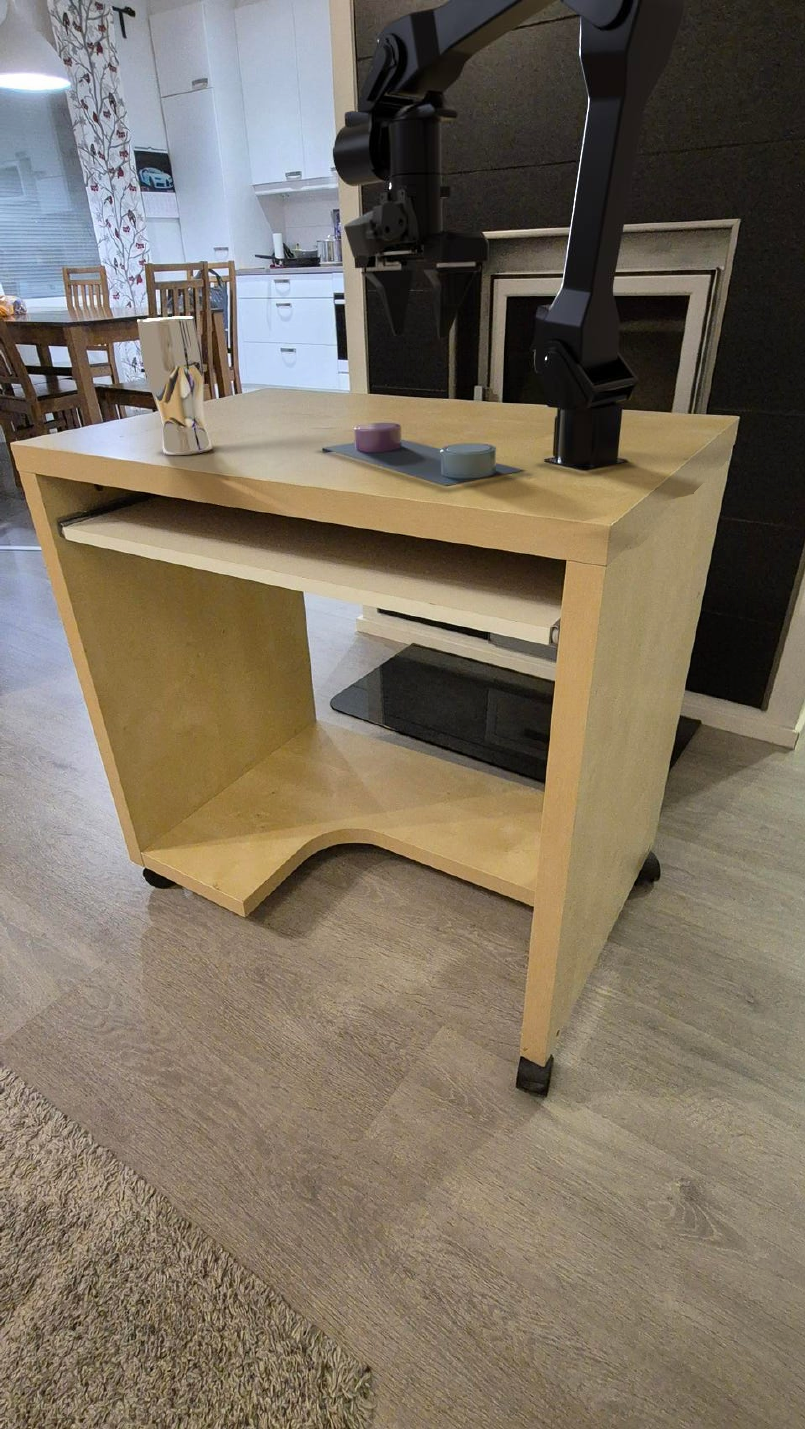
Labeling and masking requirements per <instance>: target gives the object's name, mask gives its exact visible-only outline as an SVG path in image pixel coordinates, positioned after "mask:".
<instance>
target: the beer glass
mask: <svg viewBox="0 0 805 1429" xmlns="http://www.w3.org/2000/svg"><path fill="white" fill-rule="evenodd" d="M137 329H138V338H139V339H138V340H139V347H140V354H141V360H142V364H143V370H144V373H145V376H146V379H147V383H148V385H149V388H150V389H149V390H150V391H151V394H152V397H153V401H154V403H155V405H156V409H157V411H158V415H159V418H160V422H161V431H162V451H163V454H164V455H169V456H190V455H198V454H204V453H207V452H210V451H211V450H212V449H213V445H212V441H211V439H210V436H209V433H208V429H207V426H206V421H205V412H204V394H205V392H204V390H205V389H204V386H205V385H204V380H205V379H204V364H203V356H202V351H201V344H200V340H199V336H198V330H197V327H196V322H195V317H194V316H172V317H153V318H145V319H144V318H142V319H137Z"/></svg>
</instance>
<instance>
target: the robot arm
mask: <svg viewBox="0 0 805 1429" xmlns="http://www.w3.org/2000/svg"><path fill="white" fill-rule="evenodd" d="M557 1H558V0H447V1H446V2H445V3H443V4H440V5H439V6H436V7H434V8H429V9H423V10H417V11H413V12H409V13H407V14H405V15H403V16H400V17H397V18H395V19H393V20H391V21H389V22H387V23H386V24H385V25H384V26H383V27H382V29H381V30H380V32H379V34H378V36H377V44H376V45H375V48H374V52H373V55H372V58H371V61H370V65H369V68H368V71H367V75H366V77H365V81H364V83H363V85H362V88H361V89H360V97H359V99H358V103H357V107H356V108H357V111H355V110H351V111H350V110H349V111H346V112H344V117H343V118H344V126H343V127H342V128H341V129H339V131H338V133H337V134H336V137H335V140H334V144H333V148H332V159H333V164H334V167H335V170H336V173H337V175H338V177H339V178H340V179H341V180H342V182H344V183H345V184H346V185H348V186H351V187H360V186H365V185H372V184H378V183H385V182H389V188H386V189H382V190H381V193H380V196H379V199H380V205H376V206H373V208H372V210H370V211H368V212H366V213H364V214H362V215H361V216H359V217H357V218H355V219H353V220H351V221H349V222H348V223H345V224H344V225H343V226H342V228H343V230H344V234H345V236H346V239H347V243H348V245H349V248H350V252H351V255H352V258H354V269H366V271H361V273H360V274H361V275H362V276H363V277H365V278H367V279H368V280H369V281H370V282H371V283H373V284H374V286H375V287H376V289H377V291H378V293H379V295H380V298H381V300H382V304H383V306H384V310H385V313H386V316H387V319H388V322H389V325H390V328H391V331H392V334H393V336H395V337H397V336H402V335H403V334H404V329H405V326H406V321H407V320H406V319H407V315H408V314H407V313H408V308H409V303H410V297H411V296H410V295H411V290H412V285H413V284H412V283H413V278H414V269H402V267H410V265H411V263H412V262H417V261H426V263H427V265H434V264H435V265H436V267H427V268H422V271H423V273H425V276H426V277H427V279H428V280H429V281H430V283H431V284H432V287H433V288H432V289H433V300H434V311H435V312H434V313H435V324H436V331H437V332H436V333H437V337H438V339H446V338H447V339H448V337H449V335H450V332H451V330H452V328H453V325H454V322H455V320H456V317H457V316H458V313H459V310H460V307H461V305H462V303H463V301H464V298H465V296H466V295H467V292H468V290H469V288H470V286H471V284H472V282H473V280H474V278H475V276H476V274H477V273H478V272H481V268H482V266H481V265H476V263H481V262H482V263H484V262H485V263H486V262H489V249H490V248H489V244H490V242H489V240H488V238H487V237H486V235H485V234H484V232H483V231H451V230H444V229H443V228H444V227H443V226H444V225H443V222H444V221H443V199H447V198H448V199H449V198H451V185H443V152H442V151H443V150H442V149H443V146H442V145H443V144H442V138H443V137H442V136H443V134H442V123H443V122H447V121H452V120H456V119H458V116H459V114H458V112H459V111H458V110H457V109H456V108H455V107H454V106H453V105H452V104H451V103H450V101H448V100H447V98H446V96H445V94H444V93H445V92H446V91H447V90H448V89H450V87H451V86H452V85H453V84H455V83H456V81H457V80H458V79H459V78H460V76H461V74H462V72H463V70H464V68H465V65H466V63H467V62H468V61H469V60H470V59H471V58H472V57H474V55H476V54H477V53H479V52H480V51H482V50H483V49H485V48H487V47H488V46H490V45H491V44H493V43H494V42H495V41H497V40H498V39H500V38H502V37H503V36H506V34H508V33H509V32H511V31H512V30H514V29H515V28H517V27H518V26H520V25H522V24H523V23H525V22H526V21H527V20H529V19H531V18H532V17H534V16H535V15H537V14H538V13H540V12H542V11H544V10H545V9H546V8H548V7H549V6H551V5H552V4H554V3H555V2H557ZM559 1H560V2H561V3H562V4H563V5H565V6H566V7H568V8H569V9H570V10H572V11H573V12H575V13H576V14H577V15H579V17H580V18H579V19H580V22H579V24H580V26H579V27H580V29H579V60H580V64H581V69H582V72H583V78H584V82H585V87H586V92H587V97H588V101H587V102H588V104H587V113H586V120H585V126H584V132H583V139H582V146H581V153H580V161H579V166H578V174H577V181H576V188H575V193H574V194H575V195H574V202H573V209H572V215H571V223H570V230H569V236H568V242H567V243H568V244H567V248H566V249H567V250H566V255H565V264H564V270H563V277H562V283H561V287H560V289H559V291H558V293H557V295H556V296H555V298H554V300H553V302H552V304H546V305H545V304H544V305H539V306H537V309H536V312H535V324H534V325H535V326H534V327H535V329H534V330H535V331H534V336H533V341H532V343H531V345H530V347H529V352H534V355H533V364H534V371H535V372H536V374H538V376H539V378H540V380H541V384H542V389H543V393H544V398H545V403H546V406H547V407H548V408H552V409H556V415H555V417H554V427H553V442H552V443H553V446H552V456H553V457H547V458H544V459H543V462H544V463H548V464H552V465H557V466H562V467H565V468H569V469H575V470H578V471H583V472H584V471H587V472H588V471H592V470H596V469H601V468H602V469H603V468H606V467H611V466H615V465H621V464H626V463H628V462H629V459H627V458H622V457H619V449H620V439H621V428H622V418H623V408H624V404H623V403H619V402H621V401H631V399H632V398H633V395H634V393H635V390H636V388H637V385H638V383H639V379H638V376H636V374H635V373H634V371H633V369H632V368H631V367H630V365H629V364H628V363H627V361H626V360H625V358H624V357H623V355H622V354H621V353H620V351H619V347H620V346H619V345H620V344H619V343H620V324H621V323H620V322H621V321H620V317H619V313H618V308H617V304H616V299H615V296H614V285H615V284H614V282H615V278H616V271H617V266H618V262H619V256H620V249H621V243H622V240H623V232H624V227H625V222H626V216H627V210H628V204H629V199H630V193H631V187H632V184H633V183H632V182H633V177H634V171H635V166H636V160H637V154H638V148H639V144H640V143H639V142H640V137H641V131H642V126H643V120H644V114H645V109H646V106H647V104H648V100H649V98H650V96H651V95H652V93H653V91H654V89H655V88H656V86H657V84H658V82H659V81H660V79H661V77H662V75H663V73H664V71H665V70H666V68H667V66H668V64H669V62H670V58H671V56H672V52H673V49H674V45H675V42H676V39H677V36H678V32H679V29H680V25H681V22H682V20H683V15H684V12H685V11H684V10H685V0H559ZM386 94H387V95H386Z"/></svg>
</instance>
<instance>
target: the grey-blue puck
mask: <svg viewBox="0 0 805 1429" xmlns="http://www.w3.org/2000/svg"><path fill="white" fill-rule="evenodd" d="M440 449H441V474H442V475H443V476H446V477H450V478H457V479H475V478H483V477H488V476H491V475H493V474H495V472H496V463H497V447H496V446H495V445H491V444H487V443H480V442H479V443H478V442H477V443H475V442H470V443H469V442H468V443H467V442H466V443H465V442H464V443H453V444H450V445H446V446H444V447H441V448H440Z"/></svg>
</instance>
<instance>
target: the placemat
mask: <svg viewBox="0 0 805 1429" xmlns="http://www.w3.org/2000/svg"><path fill="white" fill-rule="evenodd" d="M441 449H442V448H439V447H434V446H431V445H426V444H423V443H422V444H421V443H418V442H413V441H410V440H405V439H402V447H401V448H400V449H397V450H393V451H388V452H361V451H358V450H356V449H355V442H348V443H343V444H336V445H330V446H324V447H322V448H321V452H322V453H326V454H328V453H333V452H334V453H336V454H340V455H343V456H347V457H349V458H353V459H355V460H359V461H362V462H366V463H369V464H372V465H375V466H378V467H382V468H385V469H389V470H391V471H395V472H399V473H401V474H404V475H407V476H411V477H413V478H417V479H421V480H424V481H427V482H431V483H434V484H437V485H439V486H443V487H450V486H455V485H459V484H464V483H469V482H475V481H479V480H484V479H490V478H494V477H500V476H505V475H510V474H514V473H520V472H524V471H525V469H521V468H517V467H515V466H509V465H505V464H501V463H498V462H496V472H495V474H493V475H491V476H488V477H483V478H475V479H457V478H450V477H446V476H443V475H442V474H441Z"/></svg>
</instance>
